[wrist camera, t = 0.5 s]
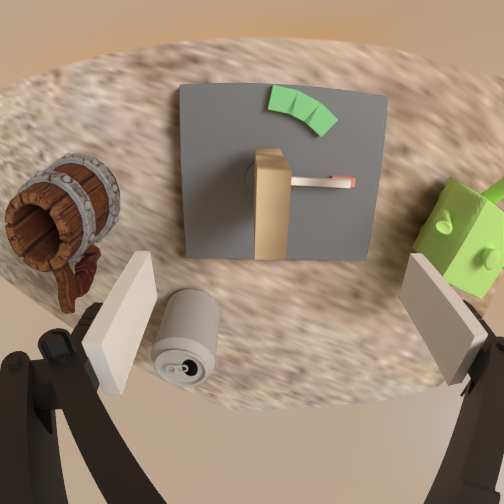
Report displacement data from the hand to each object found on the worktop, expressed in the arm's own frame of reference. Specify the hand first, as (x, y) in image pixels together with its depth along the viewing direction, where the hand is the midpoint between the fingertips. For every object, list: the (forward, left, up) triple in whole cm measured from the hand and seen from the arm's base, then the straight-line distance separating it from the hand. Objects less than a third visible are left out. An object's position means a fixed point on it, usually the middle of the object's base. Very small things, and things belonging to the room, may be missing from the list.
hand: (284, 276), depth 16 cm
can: (-9, -19, -23) cm, 31 cm away
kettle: (+25, -5, -23) cm, 34 cm away
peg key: (+4, 0, -21) cm, 21 cm away
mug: (-22, -4, -23) cm, 32 cm away
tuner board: (+2, 0, -23) cm, 23 cm away
